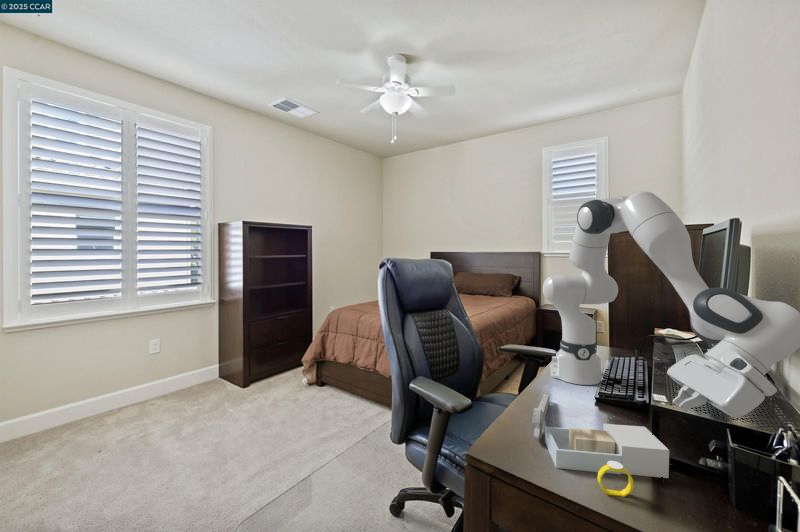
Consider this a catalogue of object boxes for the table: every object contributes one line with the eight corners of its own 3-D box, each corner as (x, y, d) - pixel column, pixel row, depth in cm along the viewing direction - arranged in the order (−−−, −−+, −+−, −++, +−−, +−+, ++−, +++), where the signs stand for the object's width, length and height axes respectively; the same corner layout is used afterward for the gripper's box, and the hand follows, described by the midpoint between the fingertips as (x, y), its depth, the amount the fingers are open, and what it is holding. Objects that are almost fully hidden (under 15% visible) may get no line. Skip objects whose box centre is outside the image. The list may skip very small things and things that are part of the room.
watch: (601, 498, 68) (599, 467, 68) (596, 488, 71) (594, 459, 71) (636, 500, 67) (634, 469, 67) (629, 490, 70) (628, 461, 70)
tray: (545, 442, 88) (545, 426, 87) (601, 447, 85) (601, 431, 85) (556, 467, 77) (556, 450, 77) (620, 474, 75) (621, 456, 75)
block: (605, 451, 82) (569, 448, 84) (605, 430, 82) (569, 427, 84) (614, 464, 77) (575, 460, 79) (615, 442, 77) (576, 438, 79)
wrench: (549, 411, 111) (539, 447, 84) (543, 410, 112) (531, 445, 85) (550, 386, 111) (540, 413, 85) (543, 385, 112) (532, 411, 86)
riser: (603, 448, 85) (603, 423, 85) (644, 451, 83) (644, 426, 83) (621, 473, 75) (621, 446, 75) (668, 478, 74) (669, 450, 73)
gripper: (689, 342, 86) (643, 379, 88) (758, 370, 66) (696, 417, 68) (709, 361, 85) (663, 397, 87) (785, 395, 65) (722, 442, 67)
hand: (678, 406), depth 77 cm, fingers closed
